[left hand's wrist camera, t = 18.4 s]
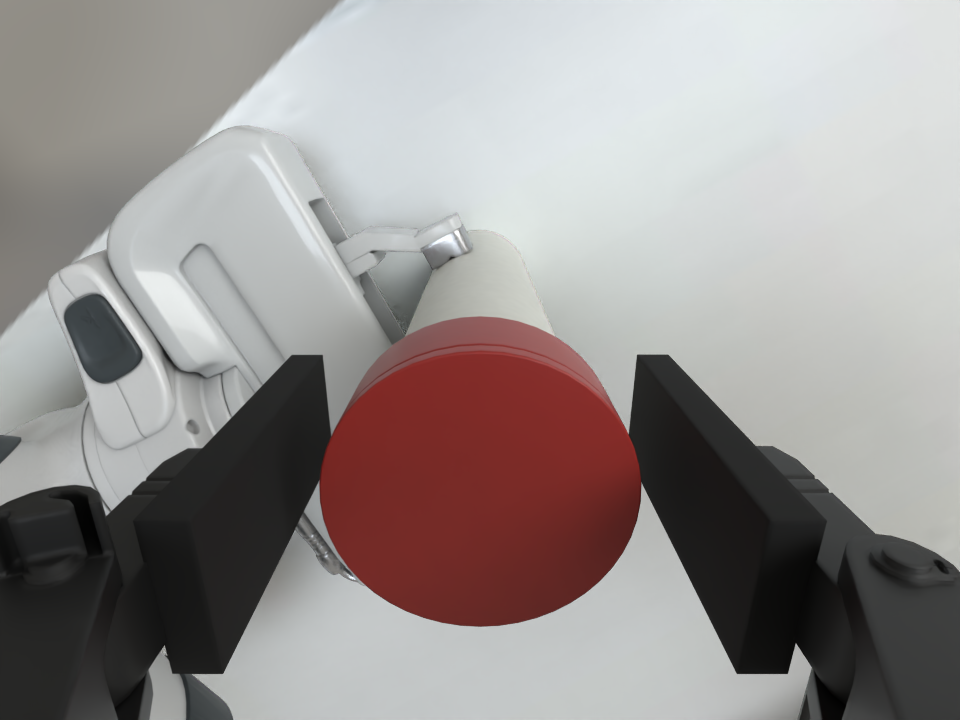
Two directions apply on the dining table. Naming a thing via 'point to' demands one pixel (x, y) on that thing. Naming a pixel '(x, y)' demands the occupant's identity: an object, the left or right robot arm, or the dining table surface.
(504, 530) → the lid
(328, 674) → the dining table surface
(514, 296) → the white cylinder
